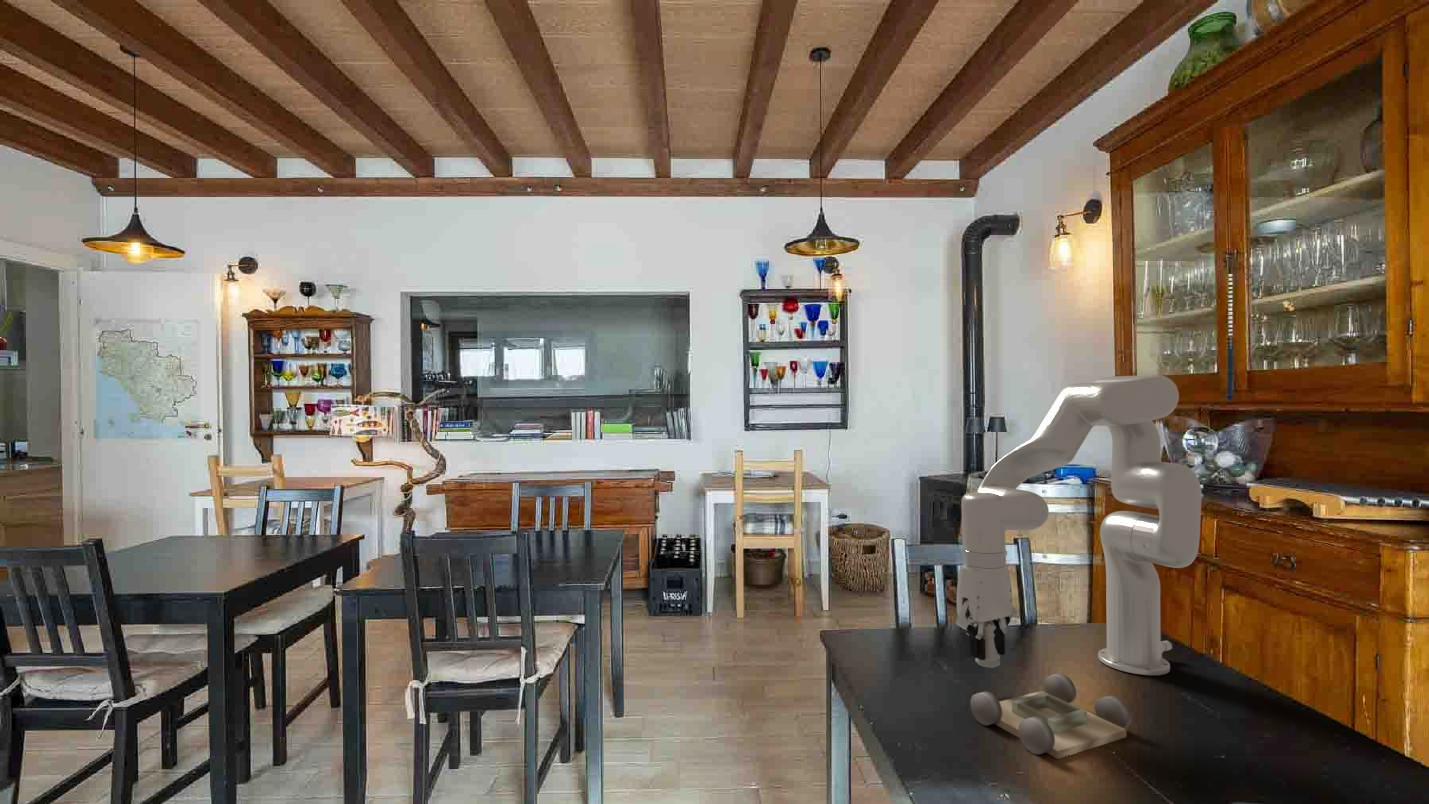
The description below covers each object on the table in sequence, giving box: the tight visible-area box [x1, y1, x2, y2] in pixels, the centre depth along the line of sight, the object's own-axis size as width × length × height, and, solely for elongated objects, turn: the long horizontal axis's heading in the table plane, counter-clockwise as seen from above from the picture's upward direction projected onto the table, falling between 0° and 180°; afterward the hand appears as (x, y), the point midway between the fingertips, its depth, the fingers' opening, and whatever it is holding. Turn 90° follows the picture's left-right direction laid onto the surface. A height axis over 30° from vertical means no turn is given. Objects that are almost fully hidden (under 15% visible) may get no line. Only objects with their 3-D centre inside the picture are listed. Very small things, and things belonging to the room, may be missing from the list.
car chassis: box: [969, 673, 1132, 760], centre depth 111 cm, size 20×16×5 cm
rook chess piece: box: [974, 621, 1001, 669], centre depth 124 cm, size 4×4×8 cm
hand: (987, 653), depth 124 cm, fingers closed on rook chess piece, 4 cm apart
